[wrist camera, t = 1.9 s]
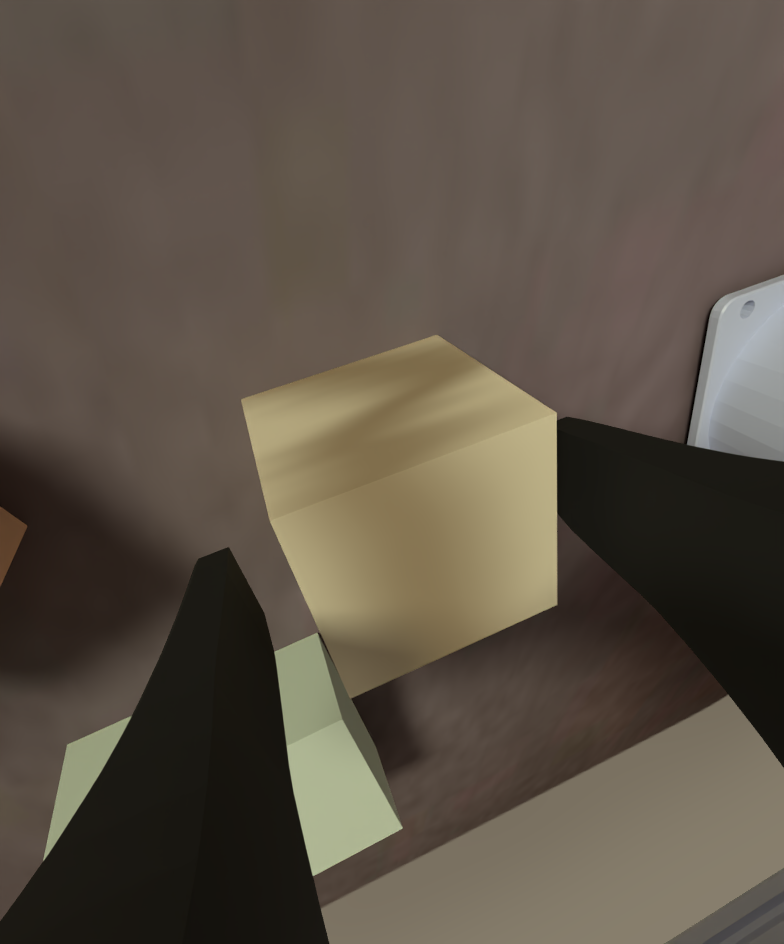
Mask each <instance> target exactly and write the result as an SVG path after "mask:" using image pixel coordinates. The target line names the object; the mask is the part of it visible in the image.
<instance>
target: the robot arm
mask: <svg viewBox="0 0 784 944" xmlns="http://www.w3.org/2000/svg"><path fill="white" fill-rule="evenodd" d="M557 513H558V514H559V516H560V517H561V518H562V519H563V520H564V521H565V523H566V524H567V525H568V526H569V527H570V529H571V530H572V531H573V532H574V533H575V534H576V535H577V536H579V537H580V538H581V539H582V540H583V541H584V542H585V543H586V544H587V545H588V546H589V547H590V548H591V549H592V550H593V551H594V552H595V553H596V554H598V555H599V556H600V557H601V558H602V559H603V560H604V561H605V562H606V563H607V564H608V565H609V566H611V567H612V568H613V569H614V570H615V571H616V572H617V573H618V574H619V575H620V576H621V577H622V578H623V579H625V580H626V581H627V582H628V583H629V584H630V585H631V586H632V587H633V588H634V589H635V590H636V591H638V592H639V593H640V594H641V595H642V596H643V597H644V598H645V599H646V600H647V601H648V602H649V603H650V604H651V605H652V606H653V607H654V608H655V609H656V610H657V611H658V612H659V613H660V614H661V615H662V617H663V618H664V619H665V620H666V621H667V622H668V623H669V625H670V626H671V627H672V628H673V629H674V630H675V631H676V632H677V634H678V635H679V636H680V637H681V638H682V639H683V640H684V642H685V643H686V644H687V645H688V646H689V647H690V648H691V650H692V651H693V652H694V653H695V654H696V656H697V657H698V658H699V659H700V660H701V662H702V663H703V664H704V665H705V666H706V668H707V669H708V670H709V671H710V672H711V674H712V675H713V676H714V677H715V678H716V680H717V681H718V682H719V683H720V684H721V686H722V687H723V688H724V689H725V691H726V692H727V693H728V694H729V696H730V697H731V698H732V700H733V701H734V702H735V703H736V705H737V706H738V707H739V709H740V710H741V711H742V712H743V714H744V715H745V716H746V718H747V719H748V720H749V721H750V723H751V724H752V725H753V727H754V728H755V729H756V730H757V732H758V733H759V734H760V736H761V737H762V738H763V740H764V741H765V743H766V744H767V745H768V747H769V748H770V749H771V751H772V752H773V753H774V755H775V756H776V758H777V759H778V760H779V762H780V763H781V765H782V766H783V767H784V275H781V276H779V277H776V278H773V279H770V280H767V281H765V282H762V283H759V284H756V285H753V286H750V287H748V288H745V289H742V290H739V291H736V292H733V293H731V294H728V295H726V296H724V297H722V298H721V299H720V300H719V301H718V302H717V303H716V304H715V305H714V307H713V308H712V310H711V314H710V317H709V323H708V329H707V334H706V340H705V346H704V351H703V357H702V362H701V368H700V374H699V379H698V385H697V391H696V396H695V402H694V407H693V413H692V419H691V424H690V430H689V435H688V441H687V445H686V444H681V443H677V442H673V441H668V440H664V439H660V438H656V437H652V436H647V435H643V434H639V433H635V432H631V431H627V430H623V429H619V428H615V427H611V426H607V425H603V424H599V423H595V422H591V421H586V420H581V419H576V418H570V417H565V418H563V419H560V420H557ZM0 944H329V941H328V937H327V933H326V929H325V925H324V921H323V917H322V913H321V909H320V905H319V900H318V896H317V892H316V888H315V883H314V879H313V875H312V871H311V867H310V862H309V858H308V854H307V850H306V845H305V841H304V836H303V832H302V827H301V823H300V819H299V814H298V810H297V805H296V801H295V796H294V792H293V786H292V780H291V774H290V768H289V761H288V753H287V745H286V737H285V728H284V720H283V712H282V704H281V696H280V688H279V681H278V673H277V665H276V658H275V654H274V650H273V645H272V641H271V637H270V633H269V630H268V626H267V622H266V618H265V614H264V612H263V610H262V608H261V606H260V604H259V603H258V601H257V599H256V597H255V595H254V593H253V591H252V590H251V588H250V586H249V584H248V582H247V580H246V578H245V577H244V575H243V573H242V571H241V569H240V567H239V565H238V564H237V562H236V560H235V558H234V556H233V554H232V552H231V551H230V549H229V547H228V548H225V549H223V550H220V551H217V552H215V553H212V554H210V555H207V556H204V557H202V558H199V559H198V561H197V563H196V564H195V567H194V570H193V573H192V575H191V578H190V581H189V584H188V587H187V589H186V592H185V595H184V598H183V600H182V603H181V606H180V608H179V611H178V614H177V616H176V619H175V621H174V624H173V626H172V629H171V631H170V634H169V636H168V639H167V641H166V643H165V646H164V648H163V651H162V653H161V655H160V658H159V660H158V662H157V664H156V667H155V669H154V671H153V673H152V675H151V677H150V679H149V682H148V684H147V686H146V688H145V690H144V692H143V694H142V696H141V699H140V701H139V703H138V705H137V707H136V709H135V711H134V713H133V715H132V717H131V718H130V720H129V722H128V724H127V726H126V728H125V730H124V732H123V734H122V736H121V737H120V739H119V741H118V743H117V745H116V746H115V748H114V750H113V752H112V753H111V755H110V757H109V759H108V761H107V762H106V764H105V766H104V767H103V769H102V771H101V773H100V774H99V776H98V777H97V779H96V781H95V782H94V784H93V786H92V787H91V789H90V790H89V792H88V794H87V795H86V797H85V798H84V800H83V801H82V803H81V804H80V806H79V808H78V809H77V811H76V812H75V814H74V815H73V817H72V818H71V820H70V822H69V823H68V825H67V826H66V828H65V829H64V831H63V833H62V834H61V836H60V837H59V839H58V840H57V842H56V843H55V845H54V846H53V848H52V849H51V851H50V852H49V854H48V855H47V857H46V858H45V860H44V861H43V862H42V864H41V865H40V867H39V868H38V870H37V871H36V872H35V874H34V875H33V877H32V878H31V880H30V881H29V882H28V884H27V885H26V887H25V888H24V890H23V891H22V892H21V894H20V895H19V897H18V898H17V899H16V901H15V902H14V903H13V905H12V906H11V908H10V909H9V910H8V912H7V913H6V914H5V916H4V917H3V918H2V920H1V921H0ZM665 944H784V868H783V869H782V870H780V871H778V872H777V873H775V874H774V875H772V876H770V877H769V878H767V879H766V880H764V881H763V882H761V883H759V884H758V885H756V886H755V887H753V888H752V889H750V890H748V891H747V892H745V893H744V894H742V895H741V896H739V897H737V898H736V899H734V900H733V901H731V902H729V903H728V904H726V905H725V906H723V907H722V908H720V909H718V910H717V911H715V912H714V913H712V914H711V915H709V916H707V917H706V918H704V919H703V920H701V921H700V922H698V923H696V924H695V925H693V926H692V927H690V928H689V929H687V930H685V931H684V932H682V933H681V934H679V935H677V936H676V937H674V938H673V939H671V940H670V941H668V942H666V943H665Z"/></svg>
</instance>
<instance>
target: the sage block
mask: <svg viewBox="0 0 784 944" xmlns="http://www.w3.org/2000/svg"><path fill="white" fill-rule="evenodd" d="M274 654H275V658H276V665H277V673H278V681H279V688H280V696H281V704H282V712H283V720H284V728H285V737H286V745H287V753H288V761H289V768H290V774H291V780H292V786H293V792H294V796H295V801H296V805H297V810H298V814H299V819H300V823H301V827H302V832H303V836H304V841H305V845H306V850H307V854H308V858H309V862H310V867H311V871H312V875H313V876H314V875H316V874H318V873H320V872H322V871H324V870H326V869H327V868H329V867H331V866H333V865H335V864H337V863H339V862H341V861H342V860H344V859H346V858H348V857H350V856H352V855H354V854H356V853H357V852H359V851H361V850H363V849H365V848H367V847H369V846H371V845H372V844H374V843H376V842H378V841H380V840H382V839H384V838H386V837H387V836H389V835H391V834H393V833H395V832H397V831H399V830H401V829H402V828H403V827H402V824H401V821H400V818H399V815H398V812H397V809H396V806H395V803H394V800H393V797H392V794H391V791H390V788H389V785H388V782H387V779H386V776H385V773H384V770H383V767H382V764H381V761H380V758H379V755H378V752H377V749H376V746H375V744H374V743H373V741H372V739H371V737H370V735H369V733H368V731H367V729H366V727H365V725H364V723H363V721H362V719H361V717H360V715H359V713H358V711H357V709H356V707H355V705H354V703H353V701H352V699H350V698H349V695H348V693H347V691H346V689H345V687H344V684H343V682H342V680H341V678H340V676H339V674H338V672H337V670H336V668H335V666H334V664H333V662H332V660H331V658H330V656H329V654H328V653H327V651H326V649H325V647H324V645H323V643H322V641H321V639H320V637H319V635H318V633H316V634H313V635H311V636H309V637H307V638H304V639H302V640H300V641H298V642H296V643H293V644H291V645H289V646H287V647H284V648H282V649H280V650H278V651H275V652H274ZM131 717H132V716H130V717H128V718H126V719H124V720H122V721H119V722H117V723H115V724H113V725H110V726H108V727H106V728H104V729H101V730H99V731H97V732H95V733H93V734H90V735H88V736H86V737H84V738H81V739H79V740H77V741H75V742H72V743H70V744H68V745H67V749H66V754H65V758H64V763H63V768H62V773H61V778H60V783H59V787H58V792H57V797H56V802H55V807H54V812H53V816H52V821H51V826H50V831H49V836H48V841H47V845H46V850H45V855H44V860H45V858H46V857H47V855H48V854H49V852H50V851H51V849H52V848H53V846H54V845H55V843H56V842H57V840H58V839H59V837H60V836H61V834H62V833H63V831H64V829H65V828H66V826H67V825H68V823H69V822H70V820H71V818H72V817H73V815H74V814H75V812H76V811H77V809H78V808H79V806H80V804H81V803H82V801H83V800H84V798H85V797H86V795H87V794H88V792H89V790H90V789H91V787H92V786H93V784H94V782H95V781H96V779H97V777H98V776H99V774H100V773H101V771H102V769H103V767H104V766H105V764H106V762H107V761H108V759H109V757H110V755H111V753H112V752H113V750H114V748H115V746H116V745H117V743H118V741H119V739H120V737H121V736H122V734H123V732H124V730H125V728H126V726H127V724H128V722H129V720H130V718H131ZM44 860H43V861H44Z"/></svg>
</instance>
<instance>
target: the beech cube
mask: <svg viewBox="0 0 784 944" xmlns="http://www.w3.org/2000/svg"><path fill="white" fill-rule="evenodd" d="M241 401H242V405H243V410H244V414H245V418H246V422H247V427H248V431H249V435H250V439H251V443H252V448H253V452H254V456H255V460H256V465H257V469H258V473H259V477H260V481H261V486H262V490H263V494H264V498H265V503H266V507H267V511H268V515H269V519H270V522H271V525H272V527H273V529H274V531H275V533H276V536H277V538H278V540H279V542H280V544H281V547H282V549H283V551H284V553H285V556H286V558H287V560H288V562H289V564H290V567H291V569H292V571H293V573H294V576H295V578H296V580H297V582H298V584H299V587H300V589H301V591H302V593H303V596H304V598H305V600H306V602H307V604H308V607H309V609H310V611H311V613H312V616H313V618H314V620H315V622H316V624H317V627H318V629H319V631H320V633H321V636H322V638H323V640H324V642H325V644H326V647H327V649H328V651H329V653H330V656H331V658H332V660H333V662H334V664H335V667H336V669H337V671H338V673H339V675H340V678H341V680H342V682H343V684H344V687H345V689H346V691H347V693H348V695H349V698H350V699H351V698H353V697H356V696H358V695H360V694H362V693H364V692H367V691H369V690H371V689H373V688H375V687H378V686H380V685H382V684H384V683H386V682H389V681H391V680H393V679H395V678H397V677H400V676H402V675H404V674H406V673H408V672H411V671H413V670H415V669H417V668H419V667H421V666H424V665H426V664H428V663H430V662H432V661H435V660H437V659H439V658H441V657H443V656H446V655H448V654H450V653H452V652H454V651H457V650H459V649H461V648H463V647H465V646H468V645H470V644H472V643H474V642H476V641H479V640H481V639H483V638H485V637H487V636H490V635H492V634H494V633H496V632H498V631H501V630H503V629H505V628H507V627H509V626H512V625H514V624H516V623H518V622H520V621H523V620H525V619H527V618H529V617H531V616H534V615H536V614H538V613H540V612H542V611H545V610H547V609H549V608H551V607H553V606H556V605H557V413H556V412H555V411H553V410H552V409H550V408H548V407H547V406H545V405H544V404H542V403H541V402H539V401H538V400H536V399H535V398H533V397H532V396H530V395H529V394H527V393H525V392H524V391H522V390H521V389H519V388H518V387H516V386H515V385H513V384H512V383H510V382H509V381H507V380H506V379H504V378H502V377H501V376H499V375H498V374H496V373H495V372H493V371H492V370H490V369H489V368H487V367H486V366H484V365H482V364H481V363H479V362H478V361H476V360H475V359H473V358H472V357H470V356H469V355H467V354H466V353H464V352H463V351H461V350H459V349H458V348H456V347H455V346H453V345H452V344H450V343H449V342H447V341H446V340H444V339H443V338H441V337H440V336H438V335H435V336H432V337H429V338H426V339H423V340H420V341H417V342H414V343H411V344H408V345H405V346H402V347H399V348H396V349H393V350H390V351H387V352H383V353H380V354H377V355H374V356H371V357H368V358H365V359H362V360H359V361H356V362H353V363H350V364H347V365H344V366H341V367H338V368H335V369H332V370H329V371H326V372H323V373H320V374H317V375H314V376H311V377H307V378H304V379H301V380H298V381H295V382H292V383H289V384H286V385H283V386H280V387H277V388H274V389H271V390H268V391H265V392H262V393H259V394H256V395H253V396H250V397H247V398H244V399H241Z"/></svg>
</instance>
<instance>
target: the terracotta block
mask: <svg viewBox="0 0 784 944" xmlns="http://www.w3.org/2000/svg"><path fill="white" fill-rule="evenodd" d="M26 529H27V525H26V524H24V523H23V522H21V521H20V520H19V519H17V518H16V517H14V516H13V515H12V514H10V513H9V512H7V511H6V510H4V509H3V508H2V507H0V586H1V584H2V582H3V580H4V577H5V575H6V573H7V571H8V569H9V566H10V564H11V562H12V560H13V557H14V555H15V553H16V551H17V549H18V546H19V544H20V542H21V540H22V537H23V535H24V533H25V531H26Z"/></svg>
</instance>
